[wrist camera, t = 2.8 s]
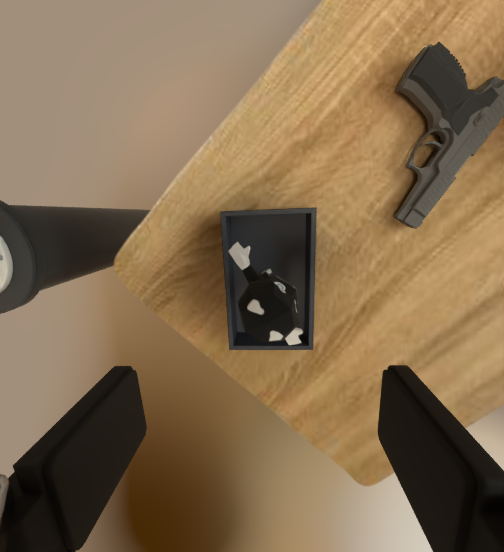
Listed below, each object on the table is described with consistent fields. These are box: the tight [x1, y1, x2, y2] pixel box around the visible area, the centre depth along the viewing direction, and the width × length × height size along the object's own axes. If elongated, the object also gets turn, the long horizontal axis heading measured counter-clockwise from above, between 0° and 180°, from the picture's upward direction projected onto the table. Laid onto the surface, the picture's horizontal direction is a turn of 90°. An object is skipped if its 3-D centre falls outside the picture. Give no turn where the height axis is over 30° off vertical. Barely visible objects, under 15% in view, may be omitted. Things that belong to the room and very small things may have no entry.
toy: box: [228, 242, 303, 345], centre depth 28 cm, size 14×6×15 cm, turn 32°
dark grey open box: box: [220, 208, 316, 350], centre depth 33 cm, size 11×18×4 cm, turn 2°
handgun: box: [394, 42, 504, 229], centre depth 29 cm, size 3×16×12 cm
